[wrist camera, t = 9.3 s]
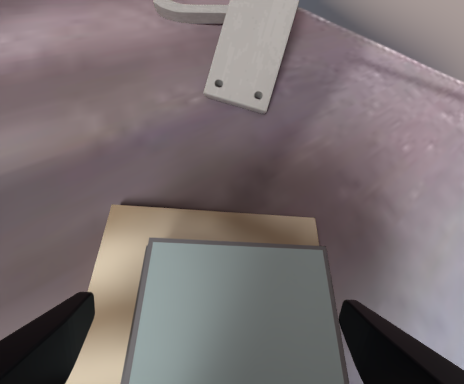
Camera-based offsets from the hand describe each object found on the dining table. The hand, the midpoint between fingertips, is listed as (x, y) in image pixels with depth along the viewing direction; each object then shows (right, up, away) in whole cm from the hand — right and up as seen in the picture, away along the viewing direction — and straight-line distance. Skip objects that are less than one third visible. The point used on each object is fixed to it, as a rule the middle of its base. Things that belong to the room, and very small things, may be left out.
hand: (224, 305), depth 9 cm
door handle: (-2, +21, +22) cm, 31 cm away
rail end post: (-1, -4, +7) cm, 8 cm away
